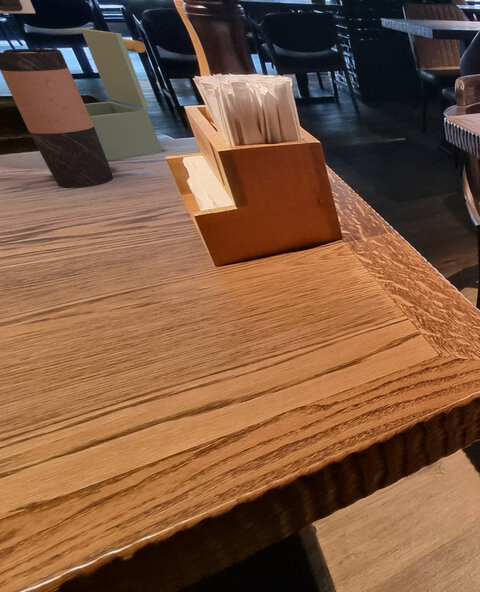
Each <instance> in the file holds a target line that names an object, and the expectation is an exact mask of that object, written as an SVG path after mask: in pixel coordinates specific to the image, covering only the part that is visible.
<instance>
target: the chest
mask: <svg viewBox="0 0 480 592" xmlns="http://www.w3.org/2000/svg"><path fill="white" fill-rule="evenodd" d="M84 105H85V107H86V109H87V112H88V114H89V116H90V118H91V121H92V123H93V125H94V128H95V130H96V133H97V136H98V138H99V141H100V143H101V146H102V148H103V151H104V154H105V156H106V159H107V161H113V160H119V159H125V158H133V157H137V156H143V155H149V154H155V153H156V154H157V153H162V152H163V150H162V146H161V144H160V142H159V138H158V136H157V134H156V131H155V128H154V126H153V123H152V120H151V117H150V115H149V112H148V110H145V109H143V108H139V107H136V106H132V105H128V104H125V103H121V102H117V101H114V100H111V101H103V102H102V101H101V102H92V103H84Z"/></svg>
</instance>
